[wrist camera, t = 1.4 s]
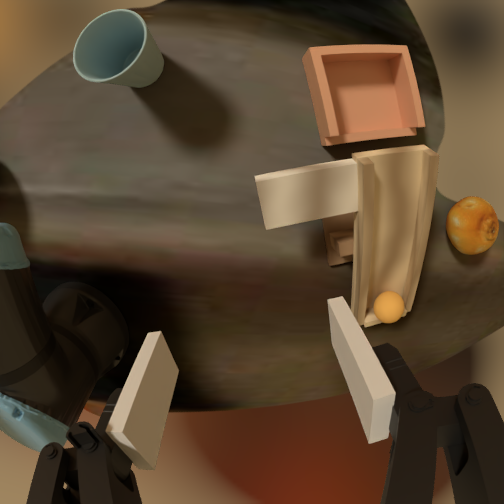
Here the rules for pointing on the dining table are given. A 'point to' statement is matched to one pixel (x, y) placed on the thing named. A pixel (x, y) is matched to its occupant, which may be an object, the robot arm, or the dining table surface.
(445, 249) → the dining table surface
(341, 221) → the fulcrum
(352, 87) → the dish
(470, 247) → the fruit
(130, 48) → the cup
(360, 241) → the lever
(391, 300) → the ball
